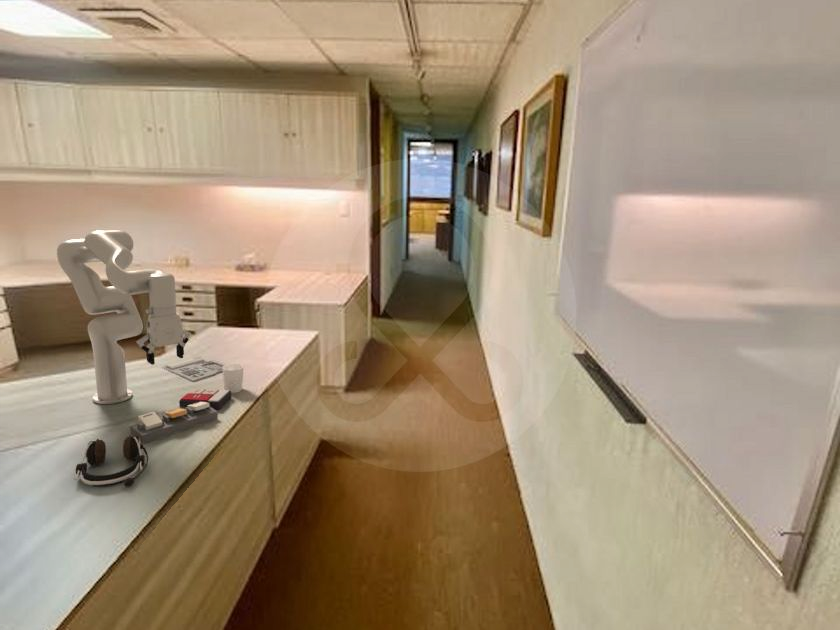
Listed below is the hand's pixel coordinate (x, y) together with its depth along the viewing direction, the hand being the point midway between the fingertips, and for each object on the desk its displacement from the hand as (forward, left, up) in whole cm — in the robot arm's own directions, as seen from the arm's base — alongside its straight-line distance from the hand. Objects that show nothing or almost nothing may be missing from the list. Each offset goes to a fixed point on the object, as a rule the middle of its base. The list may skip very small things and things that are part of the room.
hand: (166, 360), depth 160 cm
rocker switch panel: (+6, 0, -22) cm, 23 cm away
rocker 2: (+6, +8, -17) cm, 20 cm away
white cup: (-9, +30, -22) cm, 38 cm away
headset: (+20, -24, -23) cm, 39 cm away
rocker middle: (+6, 0, -17) cm, 18 cm away
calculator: (-5, +16, -23) cm, 28 cm away
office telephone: (-39, +31, -23) cm, 55 cm away
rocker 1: (+6, -8, -17) cm, 20 cm away
